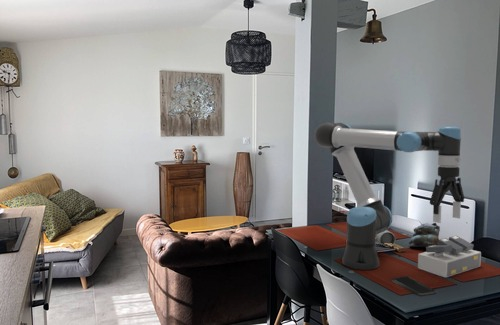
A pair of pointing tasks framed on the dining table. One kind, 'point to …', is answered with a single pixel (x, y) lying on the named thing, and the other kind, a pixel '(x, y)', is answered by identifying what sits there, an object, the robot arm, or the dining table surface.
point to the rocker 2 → (455, 247)
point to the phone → (413, 286)
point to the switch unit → (449, 262)
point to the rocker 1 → (439, 248)
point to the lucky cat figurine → (425, 235)
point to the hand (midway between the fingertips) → (446, 220)
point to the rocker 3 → (461, 243)
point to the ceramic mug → (385, 237)
